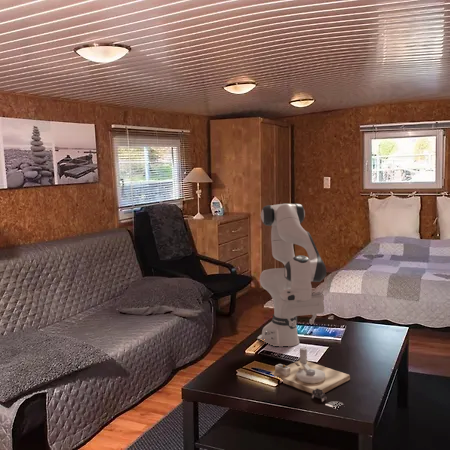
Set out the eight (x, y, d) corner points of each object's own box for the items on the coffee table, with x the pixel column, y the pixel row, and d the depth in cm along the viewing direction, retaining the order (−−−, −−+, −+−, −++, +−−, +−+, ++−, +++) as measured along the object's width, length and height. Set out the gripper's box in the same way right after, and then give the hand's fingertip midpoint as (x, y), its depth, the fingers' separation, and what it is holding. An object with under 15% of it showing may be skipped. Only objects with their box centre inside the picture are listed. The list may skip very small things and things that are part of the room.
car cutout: (306, 400, 205) (306, 389, 205) (316, 394, 210) (316, 384, 210) (340, 412, 195) (340, 400, 195) (349, 405, 200) (349, 394, 200)
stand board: (269, 377, 227) (269, 364, 226) (301, 363, 242) (301, 351, 241) (318, 396, 208) (318, 381, 207) (349, 379, 223) (350, 366, 222)
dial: (329, 382, 215) (329, 361, 214) (301, 384, 213) (301, 364, 212) (313, 364, 234) (313, 345, 233) (288, 366, 233) (287, 347, 231)
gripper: (320, 290, 231) (320, 320, 233) (276, 293, 227) (277, 324, 228) (326, 293, 225) (326, 324, 227) (281, 297, 221) (282, 329, 222)
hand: (301, 324), depth 228 cm, fingers open, 8 cm apart
